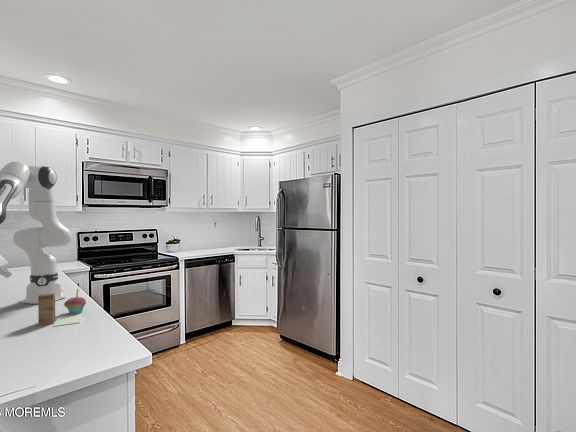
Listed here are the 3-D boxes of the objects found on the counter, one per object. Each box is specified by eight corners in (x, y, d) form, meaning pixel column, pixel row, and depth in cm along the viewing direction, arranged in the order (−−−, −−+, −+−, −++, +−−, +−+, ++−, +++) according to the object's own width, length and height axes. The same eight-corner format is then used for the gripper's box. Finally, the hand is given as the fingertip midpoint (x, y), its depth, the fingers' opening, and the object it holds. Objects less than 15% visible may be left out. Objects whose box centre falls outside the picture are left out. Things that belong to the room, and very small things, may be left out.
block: (41, 322, 139) (40, 293, 138) (55, 320, 141) (55, 292, 141) (38, 325, 134) (38, 296, 134) (53, 323, 136) (53, 294, 136)
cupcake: (90, 311, 153) (90, 285, 153) (71, 316, 146) (71, 289, 146) (78, 309, 157) (78, 284, 157) (60, 314, 149) (59, 288, 149)
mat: (58, 317, 145) (58, 316, 145) (82, 314, 149) (82, 313, 149) (53, 326, 133) (53, 325, 133) (79, 323, 137) (79, 322, 137)
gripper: (-23, 248, 119) (11, 273, 124) (-7, 245, 137) (22, 267, 142) (-40, 261, 117) (-5, 286, 121) (-22, 257, 135) (8, 279, 139)
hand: (9, 276), depth 132 cm, fingers closed
